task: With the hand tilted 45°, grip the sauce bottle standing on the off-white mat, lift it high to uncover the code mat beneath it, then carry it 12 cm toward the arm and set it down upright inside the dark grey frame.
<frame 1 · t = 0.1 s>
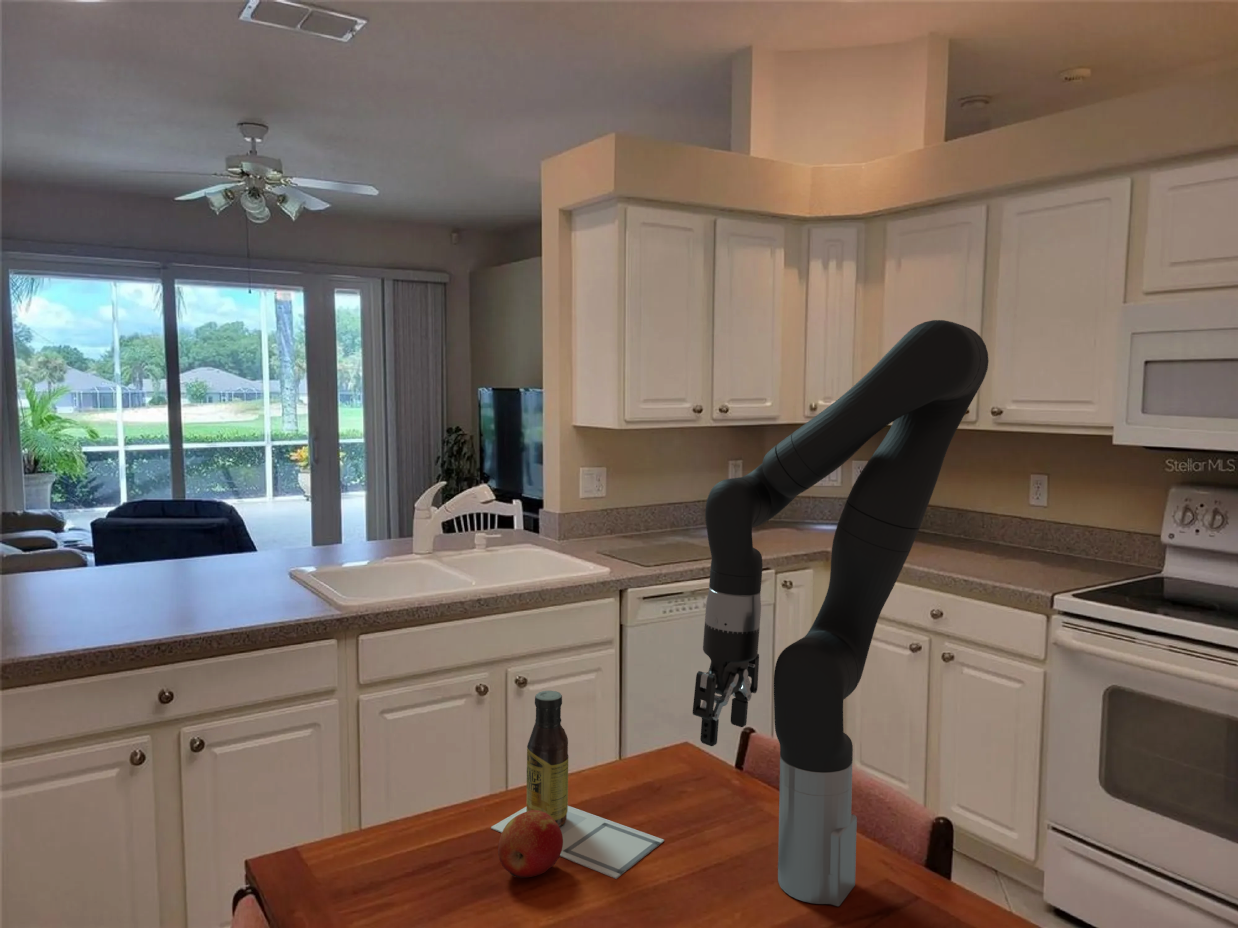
hand: (723, 734, 117), 17 cm above the table, tool pointing down, fingers open, 8 cm apart
apple: (529, 874, 114), on the table
sauce bottle: (547, 823, 127), resting on code mat
code mat: (576, 834, 124), on the table
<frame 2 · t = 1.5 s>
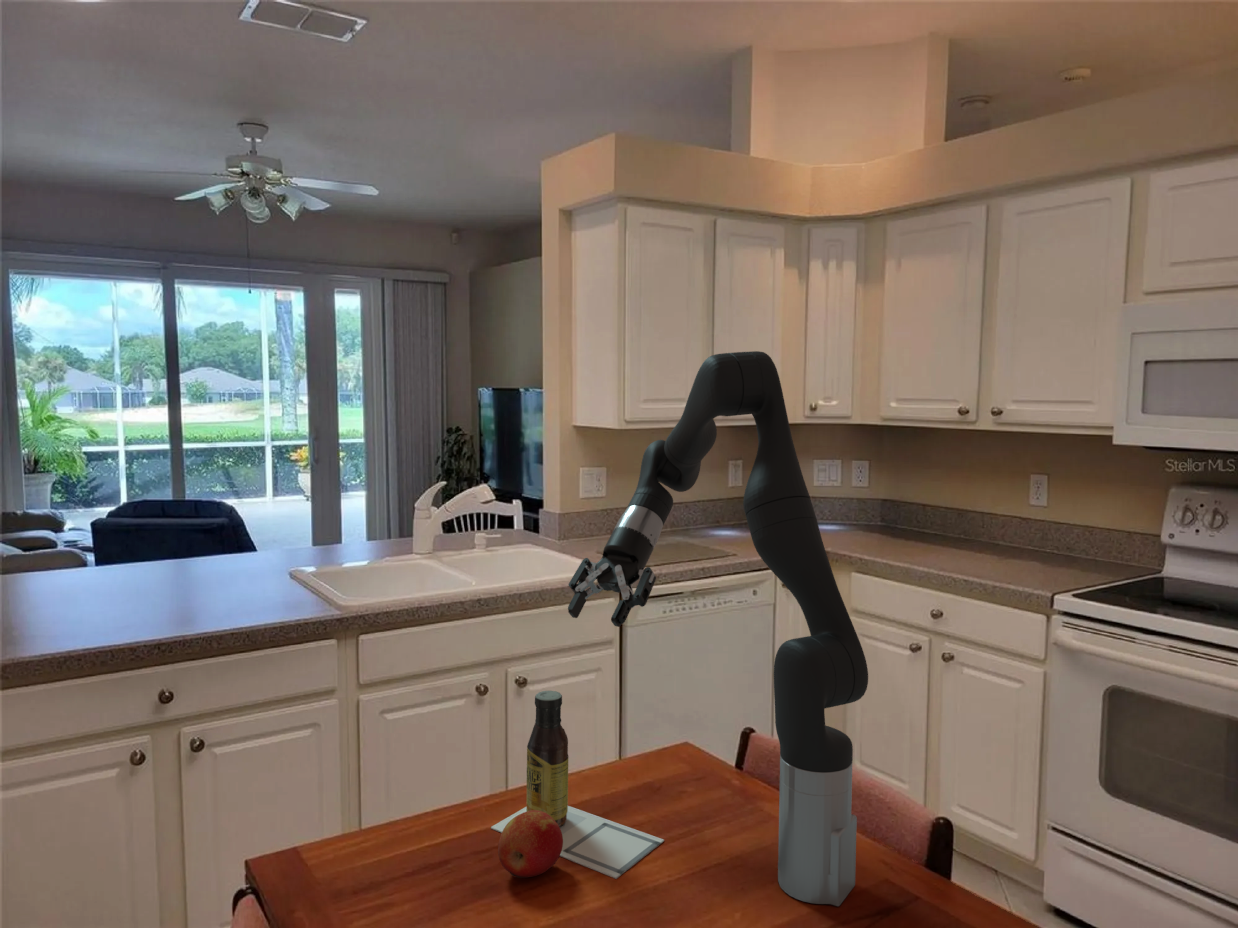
hand: (593, 619, 134), 29 cm above the table, tool tilted 45°, fingers open, 8 cm apart
nothing on the table moved.
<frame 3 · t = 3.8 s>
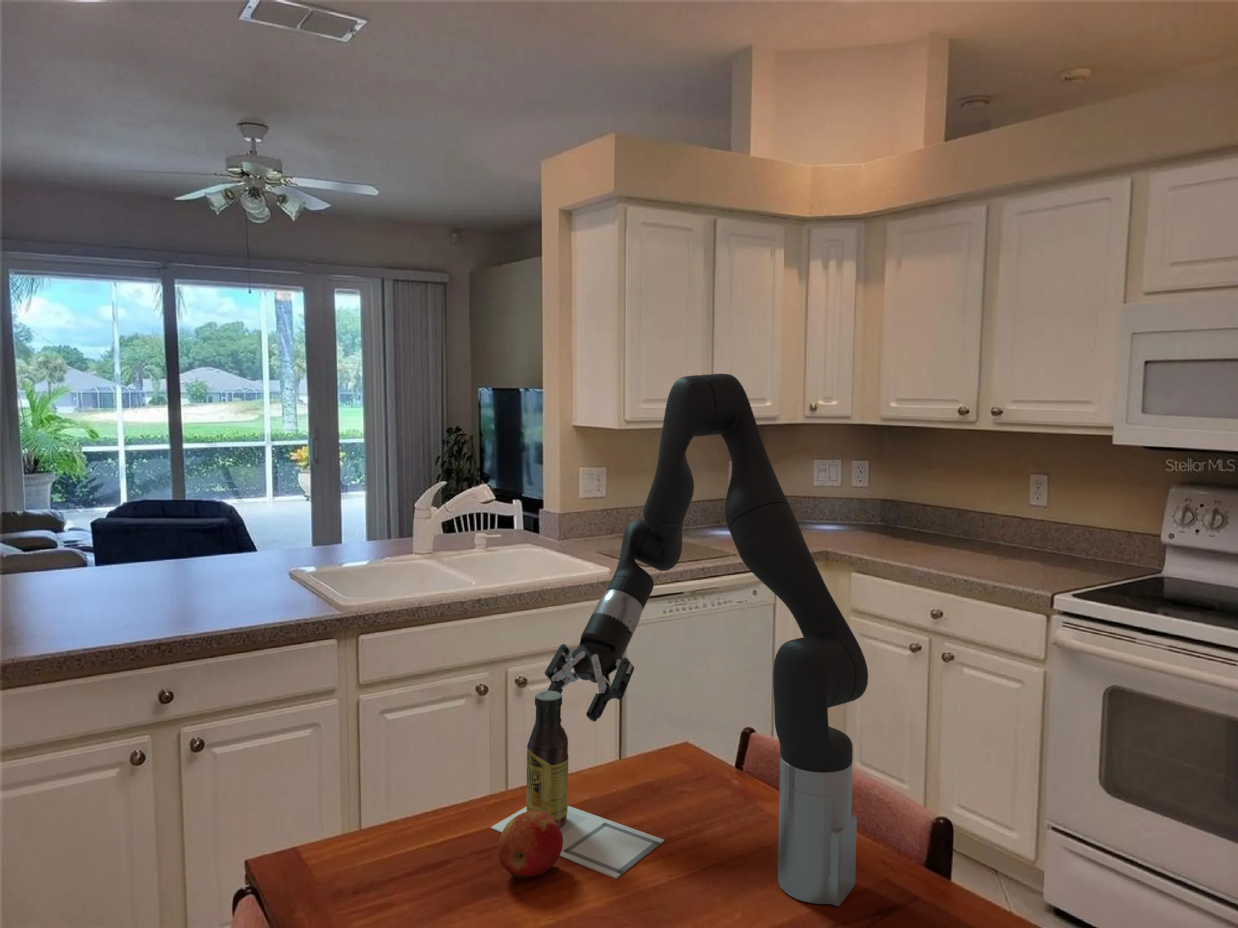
hand: (568, 712, 130), 16 cm above the table, tool tilted 45°, fingers open, 8 cm apart
nothing on the table moved.
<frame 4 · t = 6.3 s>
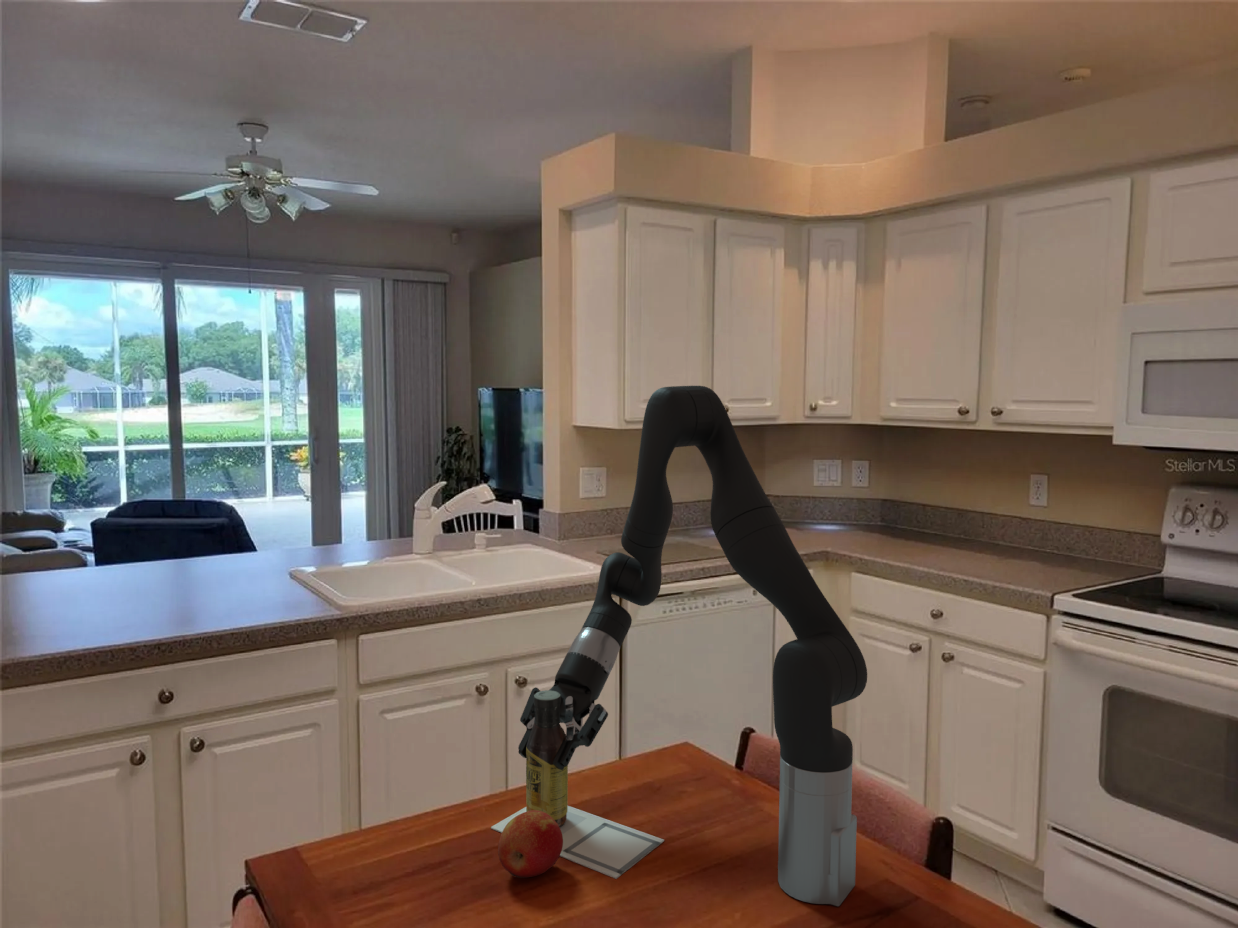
hand: (540, 761, 125), 10 cm above the table, tool tilted 45°, fingers closed on sauce bottle, 6 cm apart
sauce bottle: (547, 823, 127), resting on code mat, touching gripper
everything else where it was.
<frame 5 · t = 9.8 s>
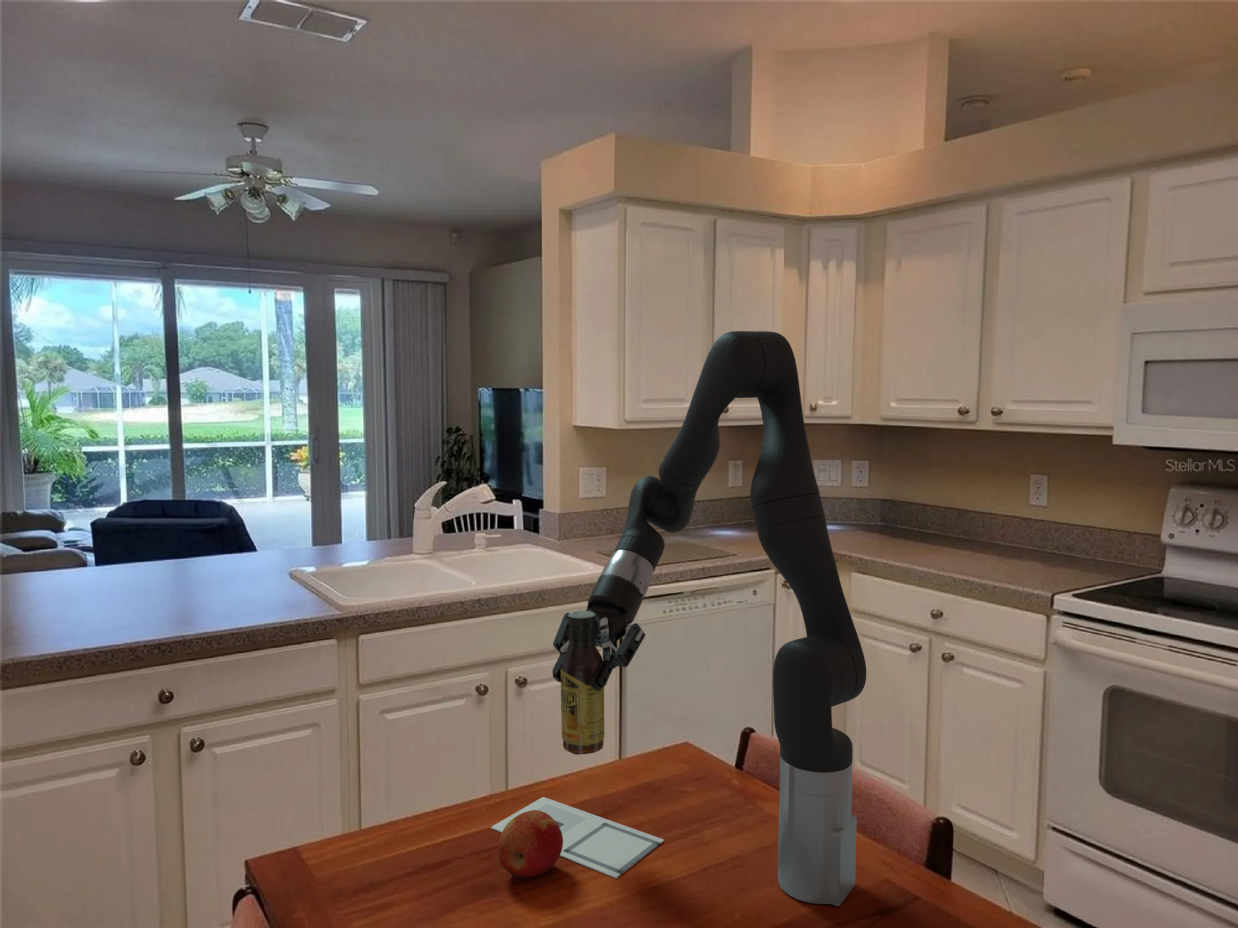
hand: (575, 683, 120), 24 cm above the table, tool tilted 45°, fingers closed on sauce bottle, 6 cm apart
sauce bottle: (584, 749, 122), point 13 cm above the table, touching gripper
everything else where it was.
when the fingers open (11 cm above the table, at t = 13.6 s): sauce bottle stays where it is, resting on code mat.
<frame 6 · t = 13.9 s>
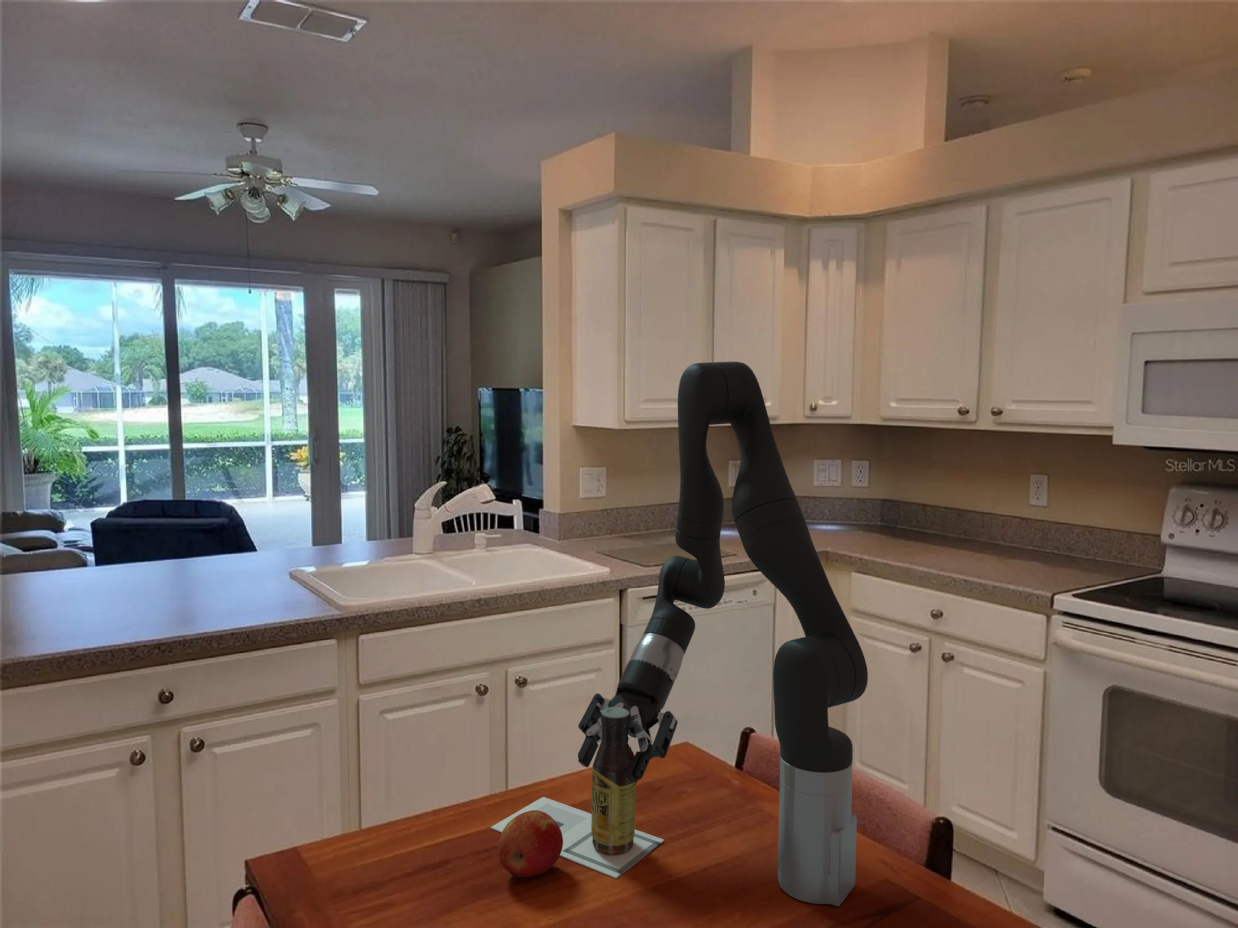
hand: (606, 772, 118), 12 cm above the table, tool tilted 45°, fingers open, 8 cm apart
sauce bottle: (613, 847, 120), resting on code mat
everything else where it was.
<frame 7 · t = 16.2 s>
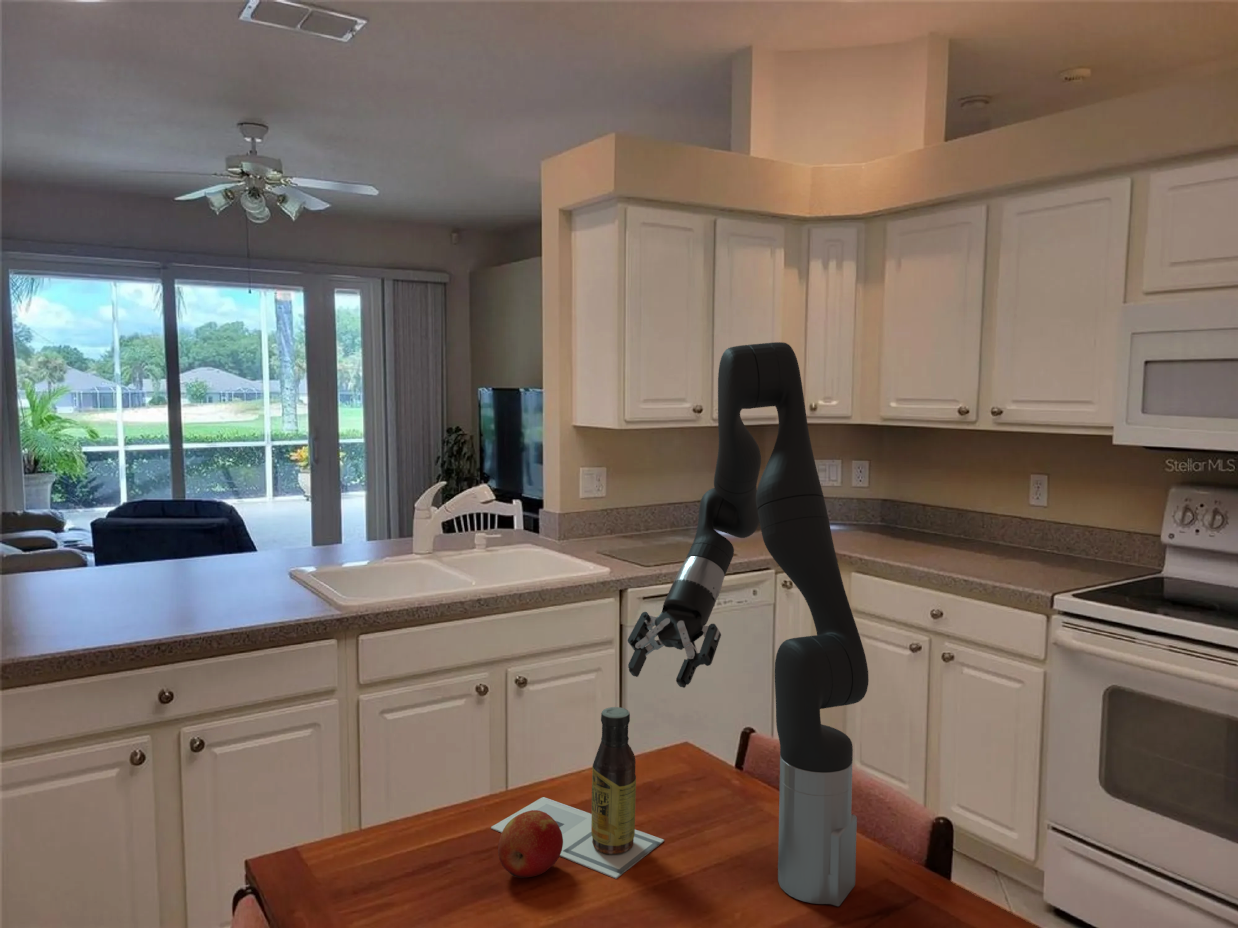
hand: (656, 679, 128), 22 cm above the table, tool tilted 45°, fingers open, 8 cm apart
nothing on the table moved.
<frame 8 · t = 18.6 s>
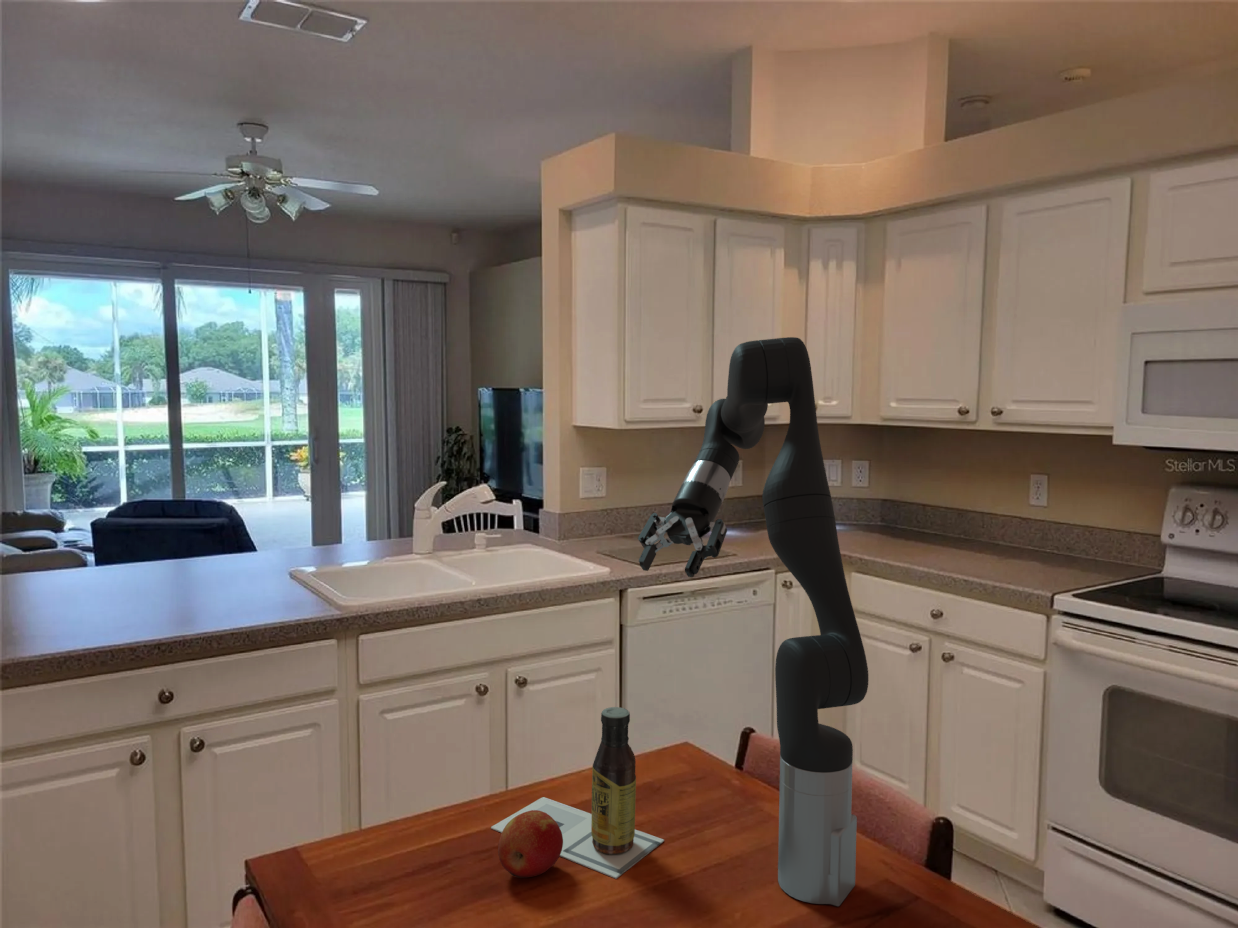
hand: (665, 570, 134), 37 cm above the table, tool tilted 45°, fingers open, 8 cm apart
nothing on the table moved.
at the end: sauce bottle 0.2 cm from the target spot, resting on code mat; sauce bottle tilted 0°; the gripper is holding nothing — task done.
